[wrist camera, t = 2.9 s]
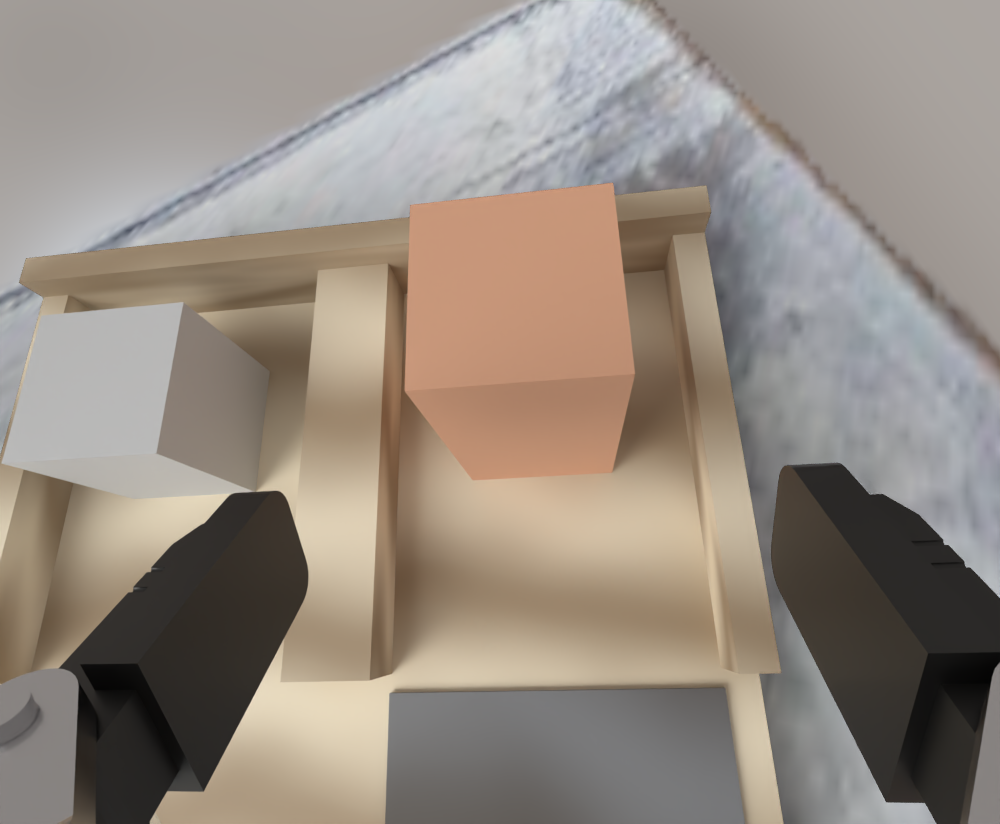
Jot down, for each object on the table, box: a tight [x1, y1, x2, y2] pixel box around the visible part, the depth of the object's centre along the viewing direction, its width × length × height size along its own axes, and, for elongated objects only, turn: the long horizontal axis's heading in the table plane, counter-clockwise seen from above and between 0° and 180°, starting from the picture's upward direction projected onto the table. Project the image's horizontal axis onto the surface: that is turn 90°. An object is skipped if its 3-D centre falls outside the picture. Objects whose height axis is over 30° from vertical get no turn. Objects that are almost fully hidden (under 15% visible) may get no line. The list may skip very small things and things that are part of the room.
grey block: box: [2, 302, 270, 499], centre depth 19 cm, size 4×4×5 cm
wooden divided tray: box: [0, 186, 783, 824], centre depth 18 cm, size 24×24×5 cm
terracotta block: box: [405, 183, 635, 480], centre depth 16 cm, size 4×4×8 cm
